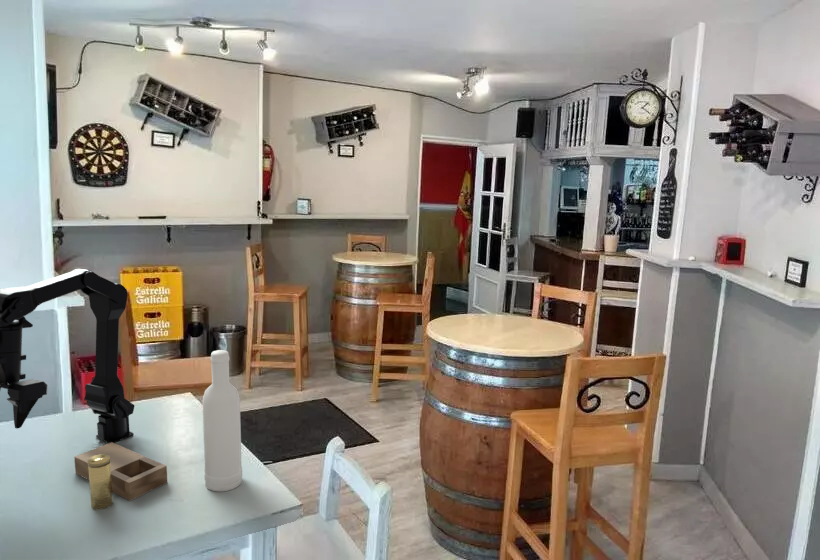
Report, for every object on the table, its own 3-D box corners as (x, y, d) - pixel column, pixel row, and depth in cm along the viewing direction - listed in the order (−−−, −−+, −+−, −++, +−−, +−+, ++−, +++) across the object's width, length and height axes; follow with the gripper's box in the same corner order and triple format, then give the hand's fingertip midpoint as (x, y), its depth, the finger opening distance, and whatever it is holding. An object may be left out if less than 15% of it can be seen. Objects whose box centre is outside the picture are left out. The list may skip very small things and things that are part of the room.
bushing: (105, 496, 132) (102, 452, 130) (117, 502, 130) (114, 457, 128) (86, 505, 128) (83, 459, 126) (98, 511, 126) (95, 465, 124)
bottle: (208, 495, 133) (203, 359, 128) (201, 478, 140) (196, 349, 135) (246, 487, 137) (243, 355, 131) (238, 471, 144) (234, 345, 138)
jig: (112, 457, 148) (111, 442, 148) (167, 482, 138) (166, 465, 137) (75, 473, 141) (74, 456, 140) (130, 500, 131) (129, 482, 130)
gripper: (-65, 349, 127) (-67, 425, 128) (-4, 363, 120) (-6, 443, 121) (-10, 342, 137) (-12, 412, 138) (50, 354, 130) (47, 428, 131)
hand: (3, 423), depth 132 cm, fingers open, 9 cm apart
